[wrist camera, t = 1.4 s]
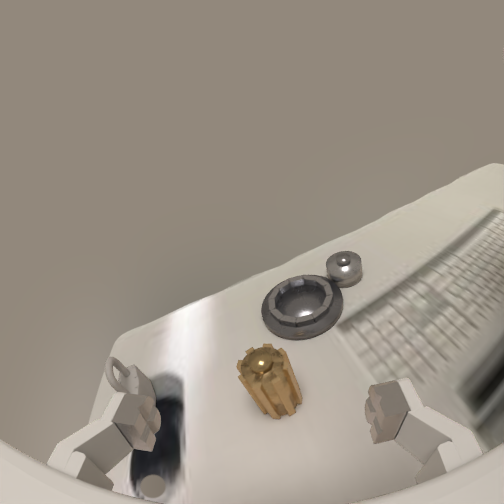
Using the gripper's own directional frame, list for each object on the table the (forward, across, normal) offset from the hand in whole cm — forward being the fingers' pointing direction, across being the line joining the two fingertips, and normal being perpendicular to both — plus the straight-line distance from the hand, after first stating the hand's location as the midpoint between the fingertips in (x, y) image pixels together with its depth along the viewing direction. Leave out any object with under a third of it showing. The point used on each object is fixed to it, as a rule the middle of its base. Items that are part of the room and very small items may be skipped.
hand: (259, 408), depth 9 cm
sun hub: (+37, -13, +13) cm, 41 cm away
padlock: (+20, +20, +24) cm, 37 cm away
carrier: (+32, -5, +16) cm, 36 cm away
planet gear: (+18, -1, +20) cm, 27 cm away
